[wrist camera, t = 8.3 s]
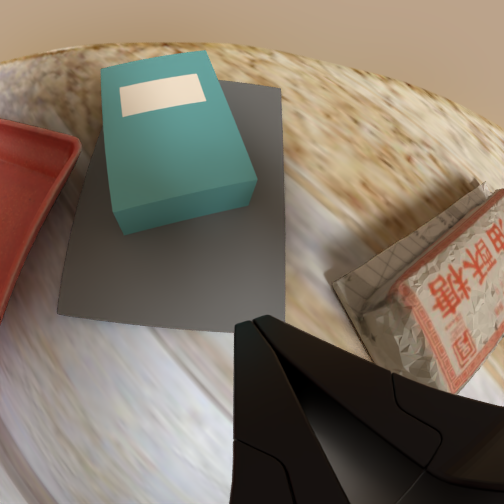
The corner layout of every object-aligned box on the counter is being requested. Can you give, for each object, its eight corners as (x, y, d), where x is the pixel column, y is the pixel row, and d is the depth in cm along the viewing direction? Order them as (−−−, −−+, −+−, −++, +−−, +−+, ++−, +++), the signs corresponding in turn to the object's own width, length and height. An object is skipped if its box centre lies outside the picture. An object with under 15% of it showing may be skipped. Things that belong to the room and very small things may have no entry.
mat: (282, 334, 15) (284, 333, 15) (59, 314, 14) (56, 313, 13) (279, 92, 21) (280, 88, 20) (123, 79, 19) (123, 75, 19)
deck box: (257, 179, 14) (205, 50, 17) (112, 212, 13) (100, 68, 15) (248, 205, 17) (202, 79, 19) (124, 235, 15) (107, 98, 18)
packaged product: (460, 443, 10) (368, 259, 13) (403, 432, 15) (324, 287, 17) (567, 267, 16) (512, 158, 18) (527, 284, 20) (476, 186, 22)
